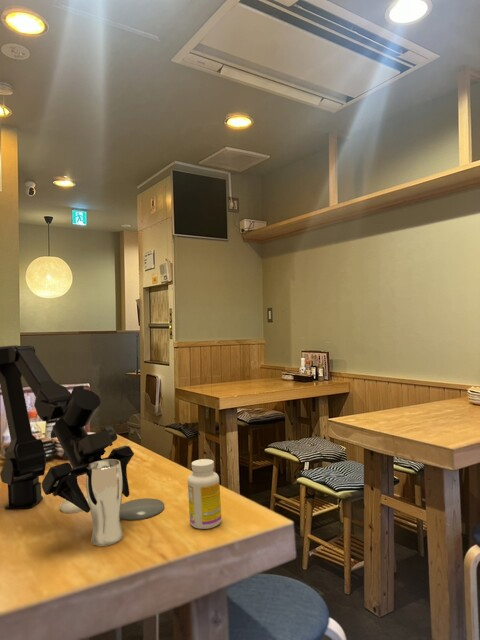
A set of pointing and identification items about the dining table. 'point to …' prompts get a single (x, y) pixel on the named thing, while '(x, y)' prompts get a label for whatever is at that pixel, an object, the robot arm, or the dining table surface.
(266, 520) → the dining table surface
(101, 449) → the robot arm
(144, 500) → the coaster
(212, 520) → the supplement bottle
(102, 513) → the beer glass
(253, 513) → the dining table surface
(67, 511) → the dish
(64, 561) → the dining table surface
